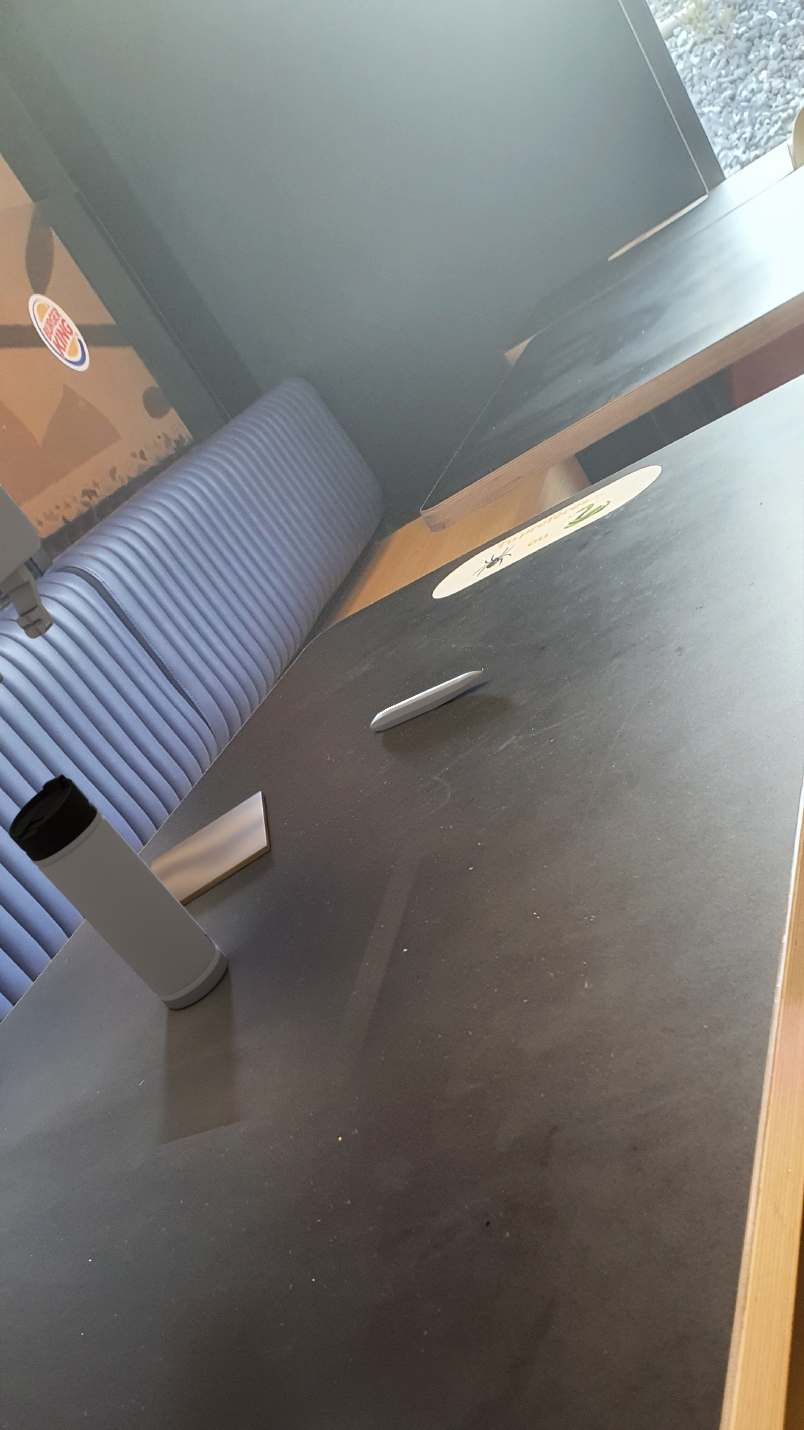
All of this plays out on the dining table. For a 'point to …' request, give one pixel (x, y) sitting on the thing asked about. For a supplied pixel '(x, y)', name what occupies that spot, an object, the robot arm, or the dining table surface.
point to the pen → (424, 701)
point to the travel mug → (117, 893)
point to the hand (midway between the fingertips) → (19, 659)
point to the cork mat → (215, 851)
